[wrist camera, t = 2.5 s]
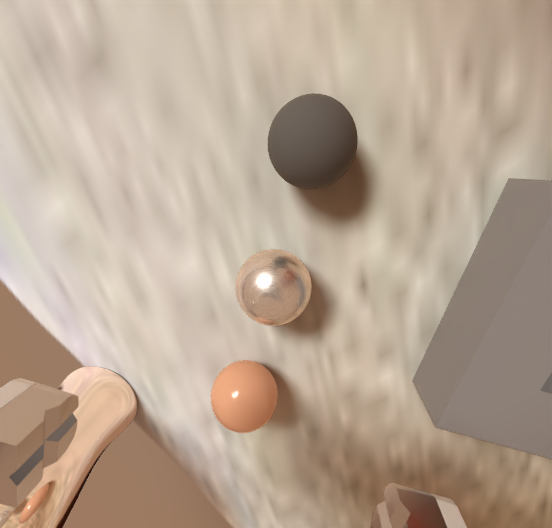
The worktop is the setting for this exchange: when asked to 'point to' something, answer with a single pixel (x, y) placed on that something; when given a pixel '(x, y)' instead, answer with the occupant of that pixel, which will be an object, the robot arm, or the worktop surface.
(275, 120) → the black rubber ball
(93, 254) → the worktop surface
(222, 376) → the terracotta ball
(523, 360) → the housing
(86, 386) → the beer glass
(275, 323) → the steel ball
